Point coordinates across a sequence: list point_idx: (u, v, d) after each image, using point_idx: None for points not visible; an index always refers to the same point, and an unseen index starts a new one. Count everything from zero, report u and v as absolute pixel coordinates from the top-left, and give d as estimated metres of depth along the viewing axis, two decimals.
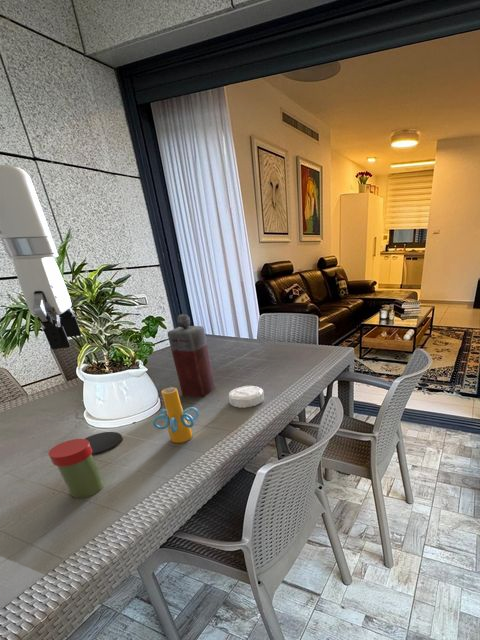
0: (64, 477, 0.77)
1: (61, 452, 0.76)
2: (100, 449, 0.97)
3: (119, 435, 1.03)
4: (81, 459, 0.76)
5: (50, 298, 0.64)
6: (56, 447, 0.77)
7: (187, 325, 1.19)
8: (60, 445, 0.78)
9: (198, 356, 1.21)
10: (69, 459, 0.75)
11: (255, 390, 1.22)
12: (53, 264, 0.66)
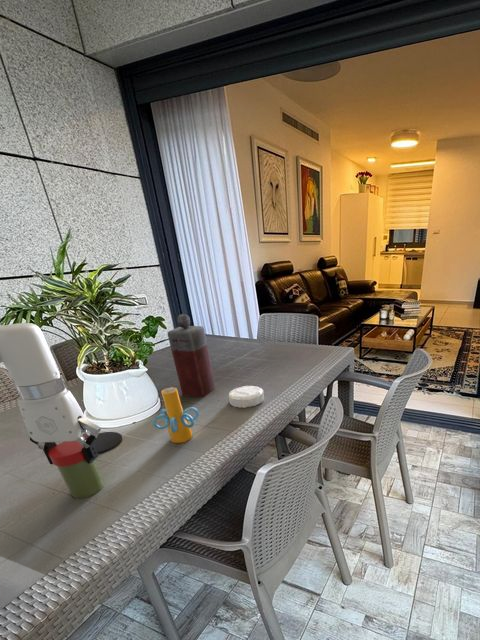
0: (64, 477, 0.77)
1: (61, 452, 0.76)
2: (100, 449, 0.97)
3: (119, 435, 1.03)
4: (81, 459, 0.76)
5: (84, 419, 0.75)
6: (56, 447, 0.77)
7: (187, 325, 1.19)
8: (60, 445, 0.78)
9: (198, 356, 1.21)
10: (69, 459, 0.75)
11: (255, 390, 1.22)
12: None
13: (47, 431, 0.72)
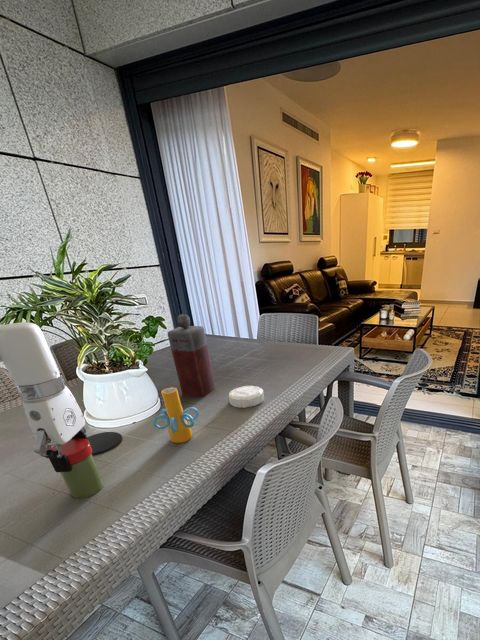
0: (64, 477, 0.77)
1: (76, 447, 0.77)
2: (100, 449, 0.97)
3: (119, 435, 1.03)
4: None
5: None
6: None
7: (187, 325, 1.19)
8: None
9: (198, 356, 1.21)
10: (90, 445, 0.79)
11: (255, 390, 1.22)
12: None
13: (70, 424, 0.74)
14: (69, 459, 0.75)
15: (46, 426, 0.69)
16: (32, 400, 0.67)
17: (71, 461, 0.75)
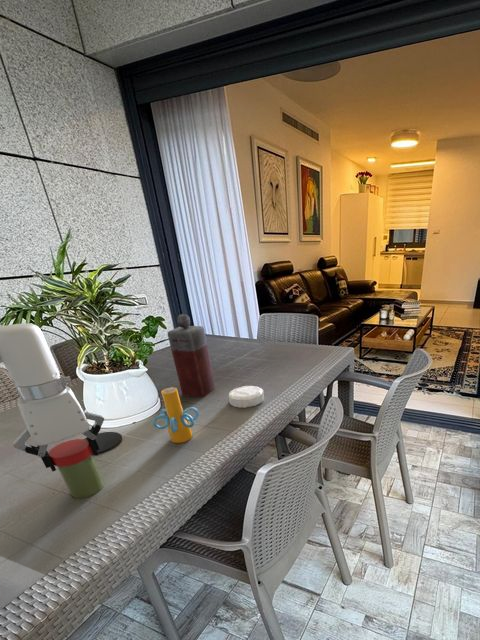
0: (64, 477, 0.77)
1: (69, 443, 0.79)
2: (100, 449, 0.97)
3: (119, 435, 1.03)
4: None
5: (30, 434, 0.70)
6: (84, 443, 0.79)
7: (187, 325, 1.19)
8: (83, 445, 0.78)
9: (198, 356, 1.21)
10: None
11: (255, 390, 1.22)
12: (49, 404, 0.70)
13: None
14: None
15: None
16: (65, 388, 0.73)
17: None
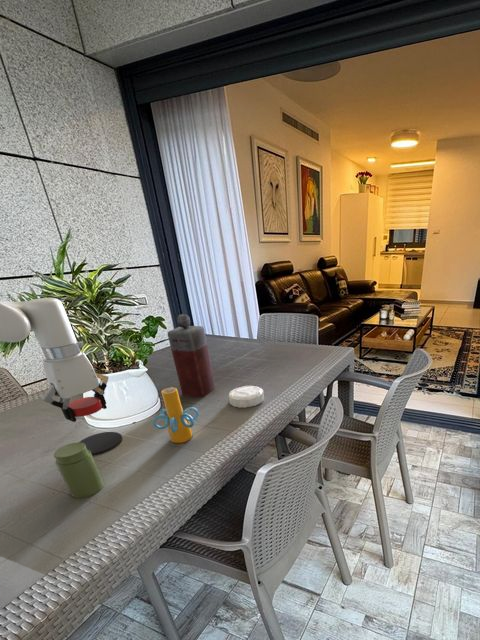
0: (64, 477, 0.77)
1: (81, 400, 0.95)
2: (100, 449, 0.97)
3: (119, 435, 1.03)
4: None
5: (57, 389, 0.87)
6: (94, 398, 0.96)
7: (187, 325, 1.19)
8: (95, 399, 0.96)
9: (198, 356, 1.21)
10: None
11: (255, 390, 1.22)
12: (71, 362, 0.87)
13: None
14: None
15: None
16: None
17: None
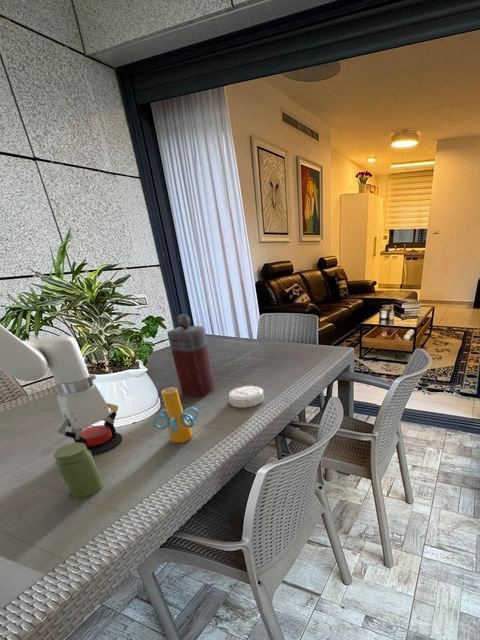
0: (64, 477, 0.77)
1: (92, 429, 1.00)
2: (100, 449, 0.97)
3: (119, 435, 1.03)
4: None
5: (70, 421, 0.91)
6: (105, 427, 1.01)
7: (187, 325, 1.19)
8: (105, 428, 1.00)
9: (198, 356, 1.21)
10: None
11: (255, 390, 1.22)
12: (84, 396, 0.92)
13: None
14: None
15: None
16: None
17: None
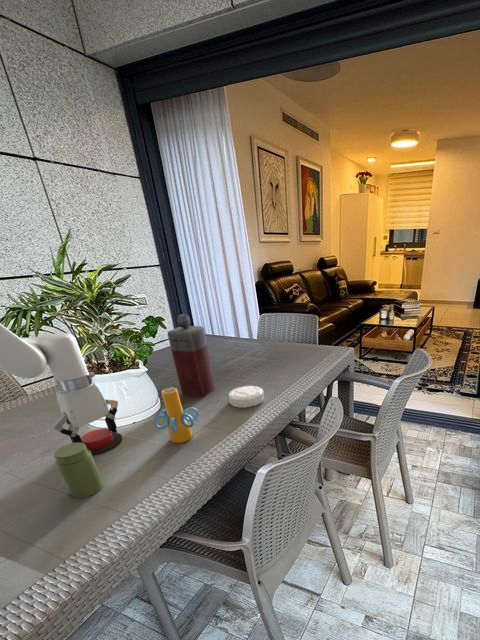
0: (64, 477, 0.77)
1: (93, 433, 1.00)
2: (100, 449, 0.97)
3: (119, 435, 1.03)
4: None
5: (69, 418, 0.91)
6: (106, 430, 1.01)
7: (187, 325, 1.19)
8: (107, 432, 1.01)
9: (198, 356, 1.21)
10: None
11: (255, 390, 1.22)
12: (83, 393, 0.91)
13: None
14: None
15: None
16: None
17: None
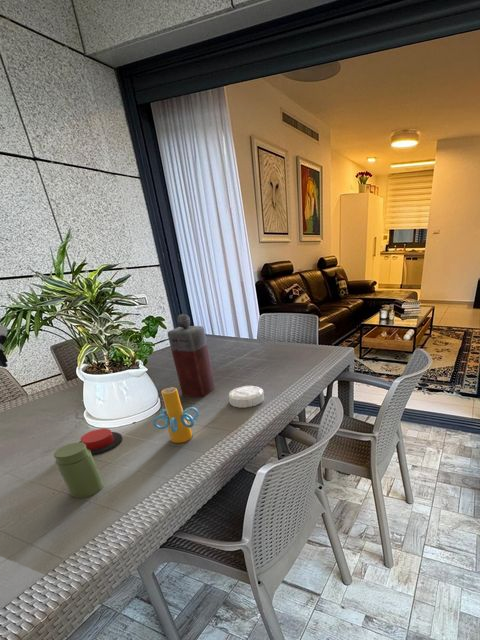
0: (64, 477, 0.77)
1: (93, 433, 1.00)
2: (100, 449, 0.97)
3: (119, 435, 1.03)
4: None
5: None
6: (106, 430, 1.01)
7: (187, 325, 1.19)
8: (107, 432, 1.01)
9: (198, 356, 1.21)
10: None
11: (255, 390, 1.22)
12: None
13: None
14: None
15: None
16: None
17: None
